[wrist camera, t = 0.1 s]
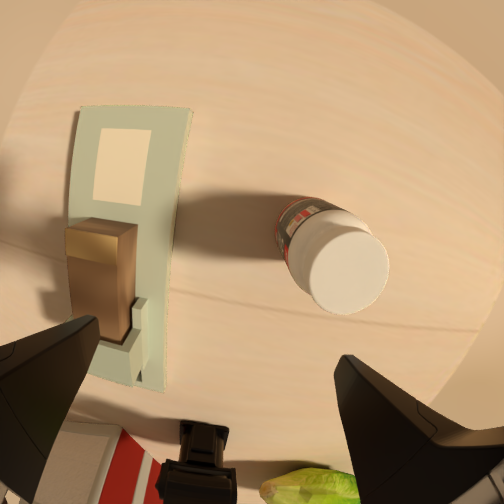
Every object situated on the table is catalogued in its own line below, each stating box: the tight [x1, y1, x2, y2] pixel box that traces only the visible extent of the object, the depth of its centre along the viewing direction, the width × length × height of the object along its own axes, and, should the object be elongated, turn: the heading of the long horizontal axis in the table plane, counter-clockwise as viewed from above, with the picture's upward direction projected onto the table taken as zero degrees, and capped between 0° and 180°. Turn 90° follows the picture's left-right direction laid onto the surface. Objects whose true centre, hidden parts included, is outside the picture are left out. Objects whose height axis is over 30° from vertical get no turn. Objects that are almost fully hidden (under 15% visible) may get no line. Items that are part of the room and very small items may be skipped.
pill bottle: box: [275, 197, 389, 315], centre depth 18 cm, size 6×6×10 cm
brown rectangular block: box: [65, 217, 138, 346], centre depth 20 cm, size 12×4×4 cm, turn 169°
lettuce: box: [259, 468, 360, 504], centre depth 31 cm, size 13×23×12 cm, turn 49°
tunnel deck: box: [66, 105, 193, 393], centre depth 20 cm, size 28×10×7 cm, turn 169°
